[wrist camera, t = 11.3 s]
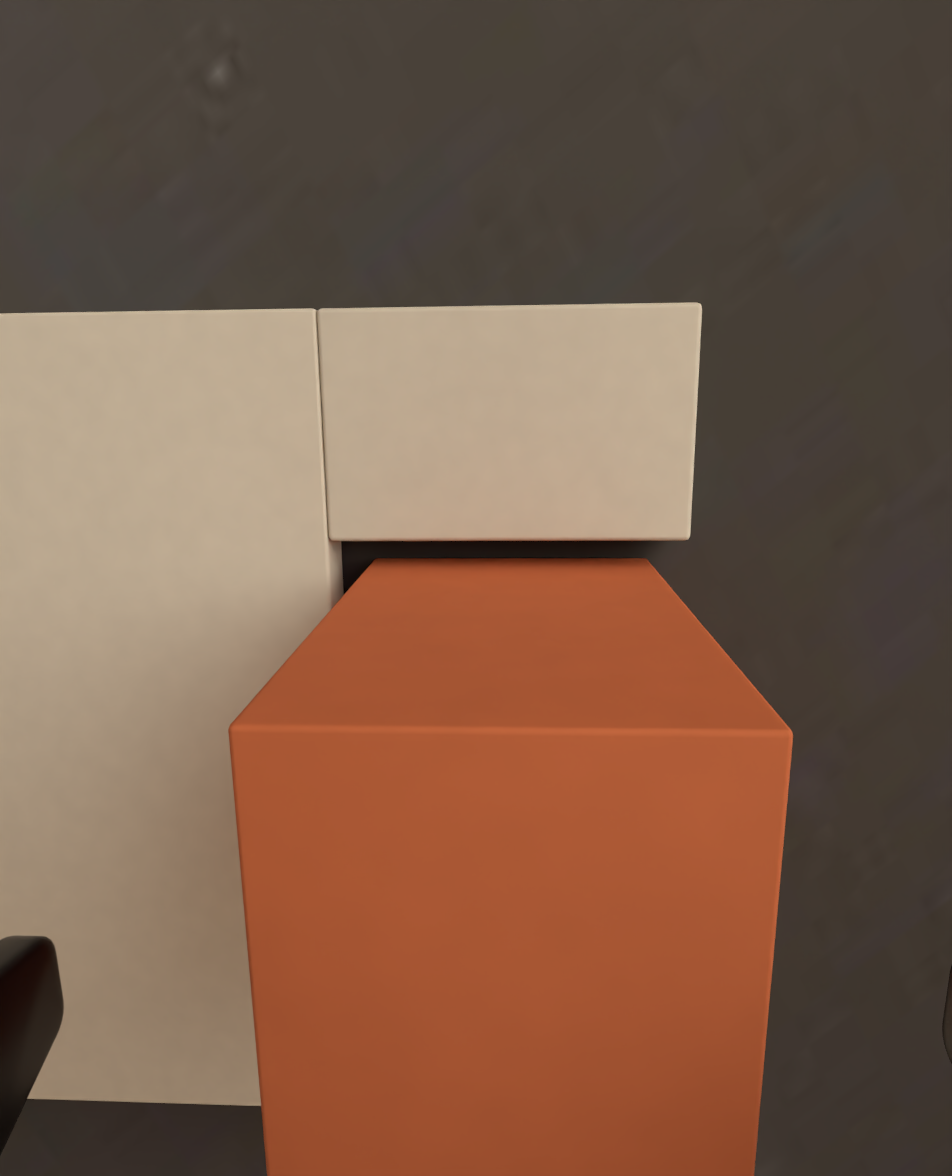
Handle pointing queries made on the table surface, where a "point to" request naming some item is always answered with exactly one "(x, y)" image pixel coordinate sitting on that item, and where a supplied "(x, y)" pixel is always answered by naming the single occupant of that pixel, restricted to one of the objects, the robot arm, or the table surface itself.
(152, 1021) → the base pad
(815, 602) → the table surface
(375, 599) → the orange block
